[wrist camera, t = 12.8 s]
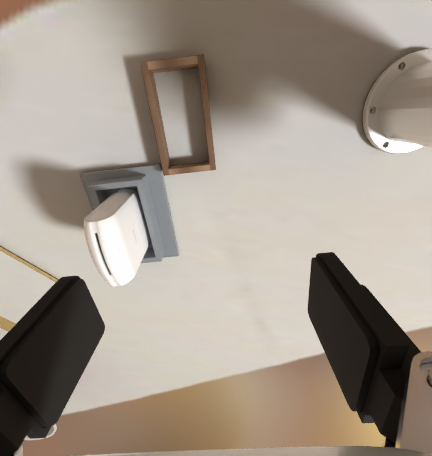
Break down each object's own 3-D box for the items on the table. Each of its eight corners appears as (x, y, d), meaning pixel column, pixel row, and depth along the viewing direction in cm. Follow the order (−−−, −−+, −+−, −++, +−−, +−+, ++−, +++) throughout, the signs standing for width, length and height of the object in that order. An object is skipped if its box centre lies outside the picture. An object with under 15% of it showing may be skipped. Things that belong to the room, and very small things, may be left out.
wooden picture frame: (204, 59, 30) (203, 54, 27) (215, 166, 36) (216, 169, 33) (145, 66, 30) (140, 62, 28) (166, 171, 36) (163, 175, 34)
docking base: (160, 163, 35) (154, 169, 32) (179, 252, 42) (176, 265, 39) (83, 172, 36) (68, 179, 32) (114, 259, 43) (105, 273, 39)
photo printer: (153, 243, 40) (132, 292, 29) (129, 246, 40) (98, 296, 29) (139, 185, 36) (107, 217, 25) (111, 188, 36) (67, 221, 25)
